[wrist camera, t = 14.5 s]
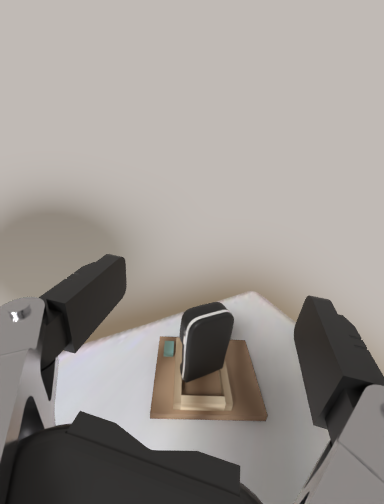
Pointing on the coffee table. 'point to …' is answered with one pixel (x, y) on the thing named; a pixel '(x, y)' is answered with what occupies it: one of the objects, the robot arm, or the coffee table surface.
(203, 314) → the battery charger
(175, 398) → the board
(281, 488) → the coffee table surface
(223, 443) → the coffee table surface
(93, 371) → the coffee table surface
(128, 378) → the coffee table surface
